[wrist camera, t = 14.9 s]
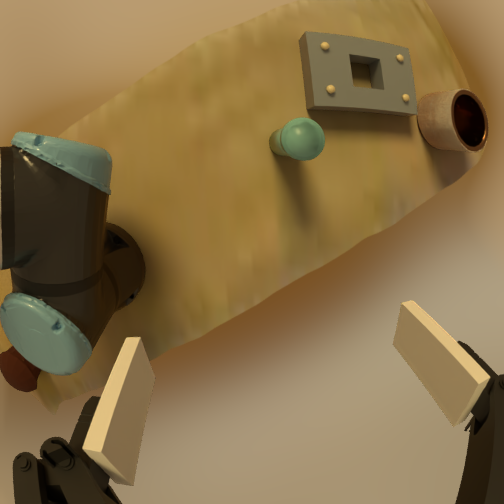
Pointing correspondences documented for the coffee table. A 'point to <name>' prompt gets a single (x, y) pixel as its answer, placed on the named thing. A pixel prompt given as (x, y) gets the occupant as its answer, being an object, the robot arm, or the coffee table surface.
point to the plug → (298, 139)
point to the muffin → (18, 370)
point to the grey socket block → (340, 76)
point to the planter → (453, 120)
